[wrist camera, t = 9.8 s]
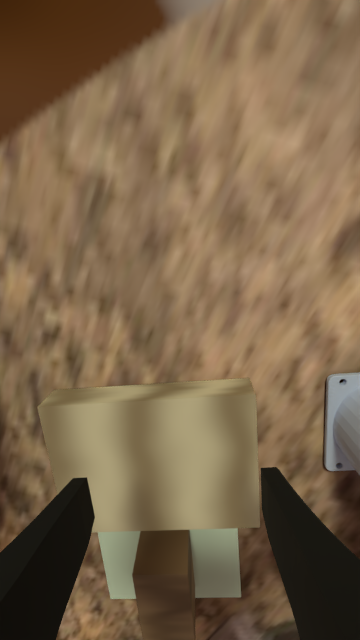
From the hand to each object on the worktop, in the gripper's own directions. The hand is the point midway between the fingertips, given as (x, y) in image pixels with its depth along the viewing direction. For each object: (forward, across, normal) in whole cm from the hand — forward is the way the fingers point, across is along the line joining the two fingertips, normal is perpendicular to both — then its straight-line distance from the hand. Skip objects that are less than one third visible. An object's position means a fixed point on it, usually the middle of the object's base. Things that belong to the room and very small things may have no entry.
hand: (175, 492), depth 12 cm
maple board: (+10, +2, +6) cm, 12 cm away
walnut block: (+8, +2, +13) cm, 15 cm away
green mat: (+10, +2, +16) cm, 20 cm away
